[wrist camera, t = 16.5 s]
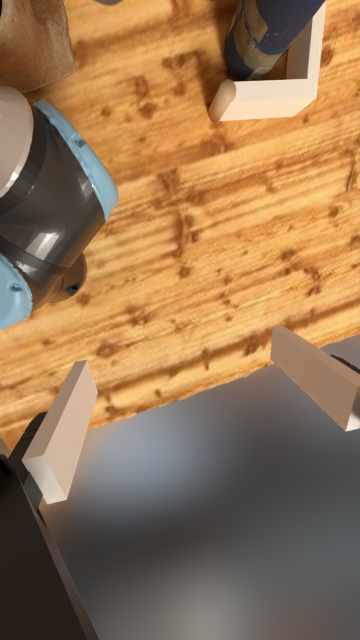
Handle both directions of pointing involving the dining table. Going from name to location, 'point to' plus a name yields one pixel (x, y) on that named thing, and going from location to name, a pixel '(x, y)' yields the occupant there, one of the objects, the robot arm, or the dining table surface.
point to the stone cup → (34, 44)
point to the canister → (264, 34)
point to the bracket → (276, 83)
